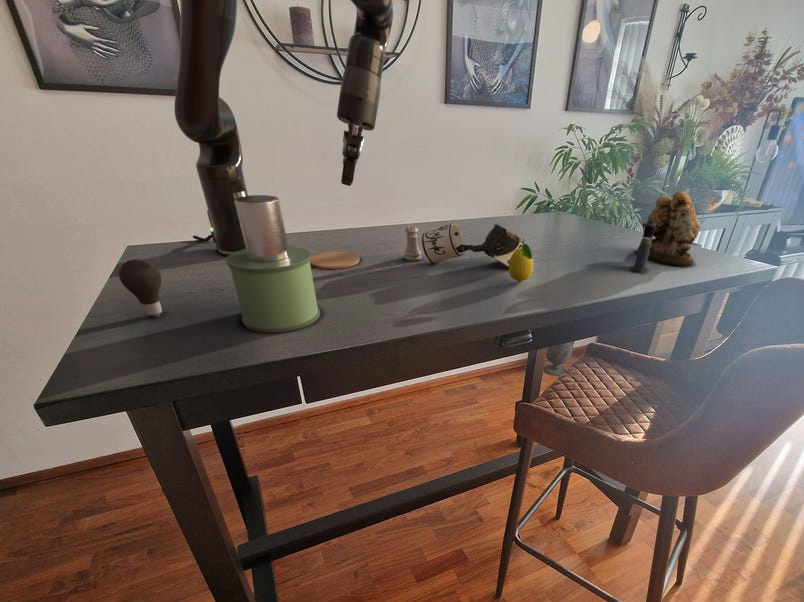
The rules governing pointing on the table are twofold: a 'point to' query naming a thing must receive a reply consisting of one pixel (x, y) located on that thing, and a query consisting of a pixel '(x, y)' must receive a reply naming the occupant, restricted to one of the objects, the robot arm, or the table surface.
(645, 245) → the vaping device
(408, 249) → the rook chess piece
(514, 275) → the lemon
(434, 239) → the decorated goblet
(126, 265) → the light bulb
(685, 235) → the owl figurine
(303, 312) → the green round canister
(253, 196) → the silver cup
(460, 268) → the table surface
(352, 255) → the cork mat
